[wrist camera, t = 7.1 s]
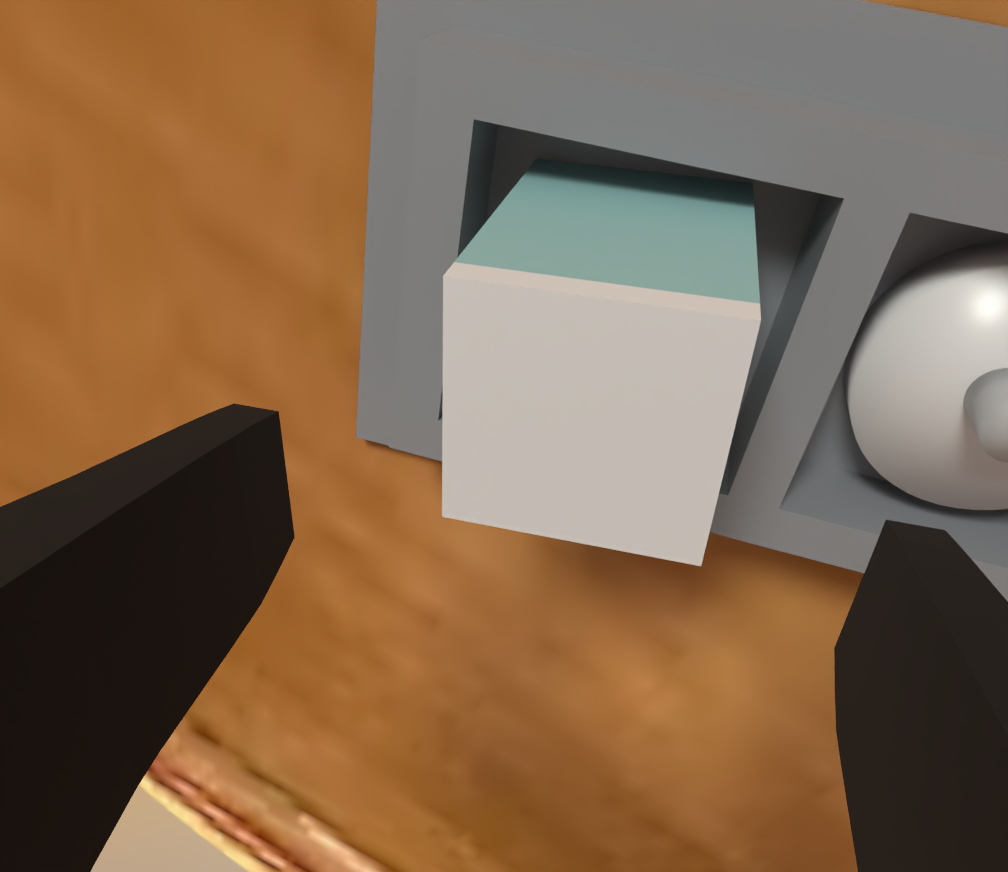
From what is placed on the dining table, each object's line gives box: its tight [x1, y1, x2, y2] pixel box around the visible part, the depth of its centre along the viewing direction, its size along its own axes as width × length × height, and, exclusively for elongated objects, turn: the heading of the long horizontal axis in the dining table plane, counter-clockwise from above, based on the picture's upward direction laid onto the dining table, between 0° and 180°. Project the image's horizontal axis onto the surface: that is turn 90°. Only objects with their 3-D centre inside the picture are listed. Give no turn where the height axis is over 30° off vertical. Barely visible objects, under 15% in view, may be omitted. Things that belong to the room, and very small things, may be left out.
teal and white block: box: [442, 159, 761, 566], centre depth 14 cm, size 4×4×6 cm
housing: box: [356, 0, 1008, 601], centre depth 15 cm, size 18×11×3 cm, turn 81°
